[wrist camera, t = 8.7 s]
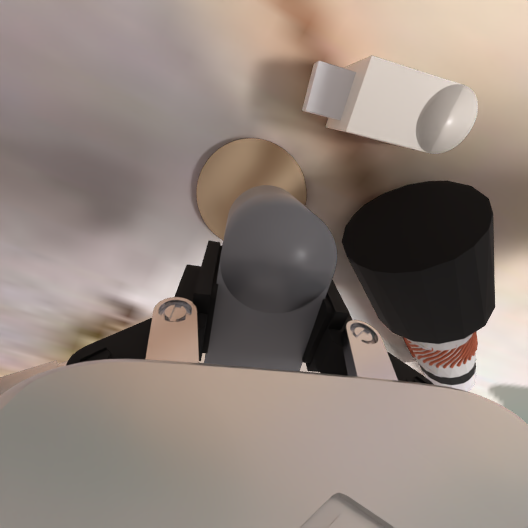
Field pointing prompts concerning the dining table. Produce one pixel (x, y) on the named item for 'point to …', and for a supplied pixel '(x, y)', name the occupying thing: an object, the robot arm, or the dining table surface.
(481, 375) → the dining table surface
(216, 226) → the cork coaster
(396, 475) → the robot arm
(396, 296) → the black capped bottle
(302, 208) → the grey plug
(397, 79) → the cream plug
